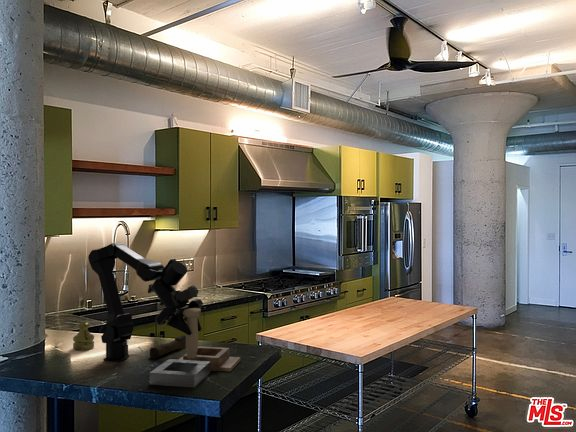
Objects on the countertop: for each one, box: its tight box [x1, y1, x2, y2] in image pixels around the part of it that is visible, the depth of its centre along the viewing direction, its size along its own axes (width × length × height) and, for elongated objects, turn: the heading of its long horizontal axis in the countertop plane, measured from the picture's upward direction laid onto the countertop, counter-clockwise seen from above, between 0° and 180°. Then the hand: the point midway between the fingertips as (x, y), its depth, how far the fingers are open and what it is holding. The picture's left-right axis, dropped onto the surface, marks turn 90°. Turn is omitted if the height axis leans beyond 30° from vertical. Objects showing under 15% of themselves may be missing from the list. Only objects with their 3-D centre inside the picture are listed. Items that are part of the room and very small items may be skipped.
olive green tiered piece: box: [72, 321, 95, 352], centre depth 187 cm, size 7×7×10 cm
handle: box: [183, 308, 202, 359], centre depth 157 cm, size 5×6×15 cm
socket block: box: [149, 358, 211, 389], centre depth 153 cm, size 14×14×4 cm
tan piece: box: [177, 345, 242, 372], centre depth 167 cm, size 20×12×4 cm, turn 80°
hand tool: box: [149, 334, 186, 359], centre depth 182 cm, size 19×4×5 cm, turn 152°
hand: (195, 332), depth 157 cm, fingers closed on handle, 5 cm apart
